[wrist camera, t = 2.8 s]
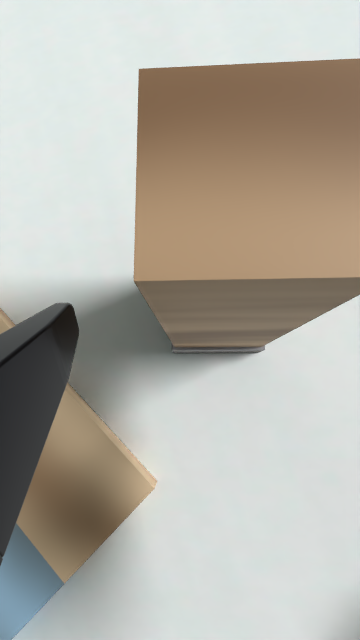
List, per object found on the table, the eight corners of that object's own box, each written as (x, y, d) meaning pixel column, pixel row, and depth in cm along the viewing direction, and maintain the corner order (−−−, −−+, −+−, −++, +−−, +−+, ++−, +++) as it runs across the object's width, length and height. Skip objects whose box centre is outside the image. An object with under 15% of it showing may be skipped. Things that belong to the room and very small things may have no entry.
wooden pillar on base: (259, 352, 18) (403, 284, 6) (173, 352, 19) (124, 289, 6) (255, 270, 19) (372, 52, 7) (173, 271, 19) (132, 63, 7)
